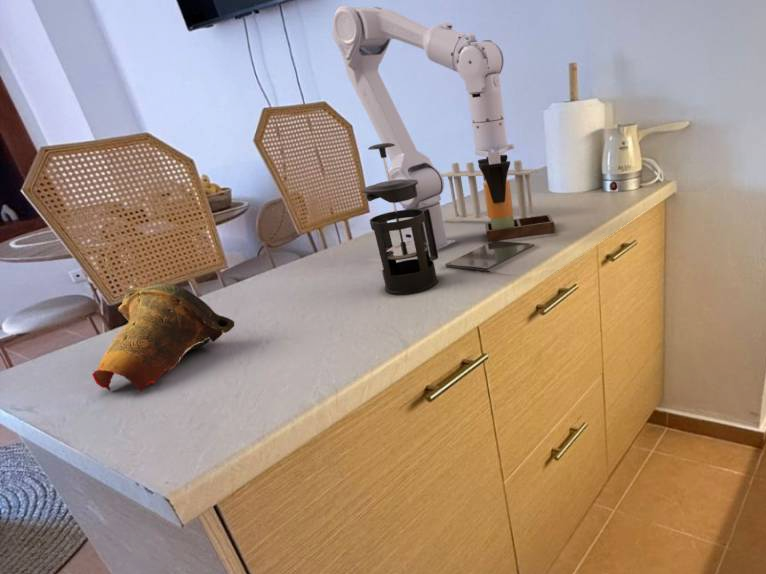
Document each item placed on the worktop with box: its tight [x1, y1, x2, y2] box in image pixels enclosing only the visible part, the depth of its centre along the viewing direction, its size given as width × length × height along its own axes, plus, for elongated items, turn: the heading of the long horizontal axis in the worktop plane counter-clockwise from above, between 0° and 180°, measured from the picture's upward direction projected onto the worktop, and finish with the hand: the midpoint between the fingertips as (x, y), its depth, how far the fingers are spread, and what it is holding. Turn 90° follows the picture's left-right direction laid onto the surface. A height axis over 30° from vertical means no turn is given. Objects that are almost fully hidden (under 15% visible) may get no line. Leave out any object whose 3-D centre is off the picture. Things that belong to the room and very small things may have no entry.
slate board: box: [445, 240, 535, 273], centre depth 105 cm, size 15×10×1 cm, turn 144°
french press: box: [361, 142, 439, 296], centre depth 91 cm, size 12×9×23 cm
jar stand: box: [484, 213, 556, 243], centre depth 117 cm, size 14×7×3 cm, turn 94°
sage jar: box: [489, 214, 515, 230], centre depth 115 cm, size 5×5×8 cm
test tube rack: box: [440, 159, 538, 223], centre depth 129 cm, size 25×4×13 cm, turn 57°
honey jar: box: [482, 175, 514, 219], centre depth 104 cm, size 5×5×8 cm
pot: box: [92, 283, 236, 393], centre depth 77 cm, size 17×11×18 cm
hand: (498, 199), depth 104 cm, fingers closed on honey jar, 5 cm apart
